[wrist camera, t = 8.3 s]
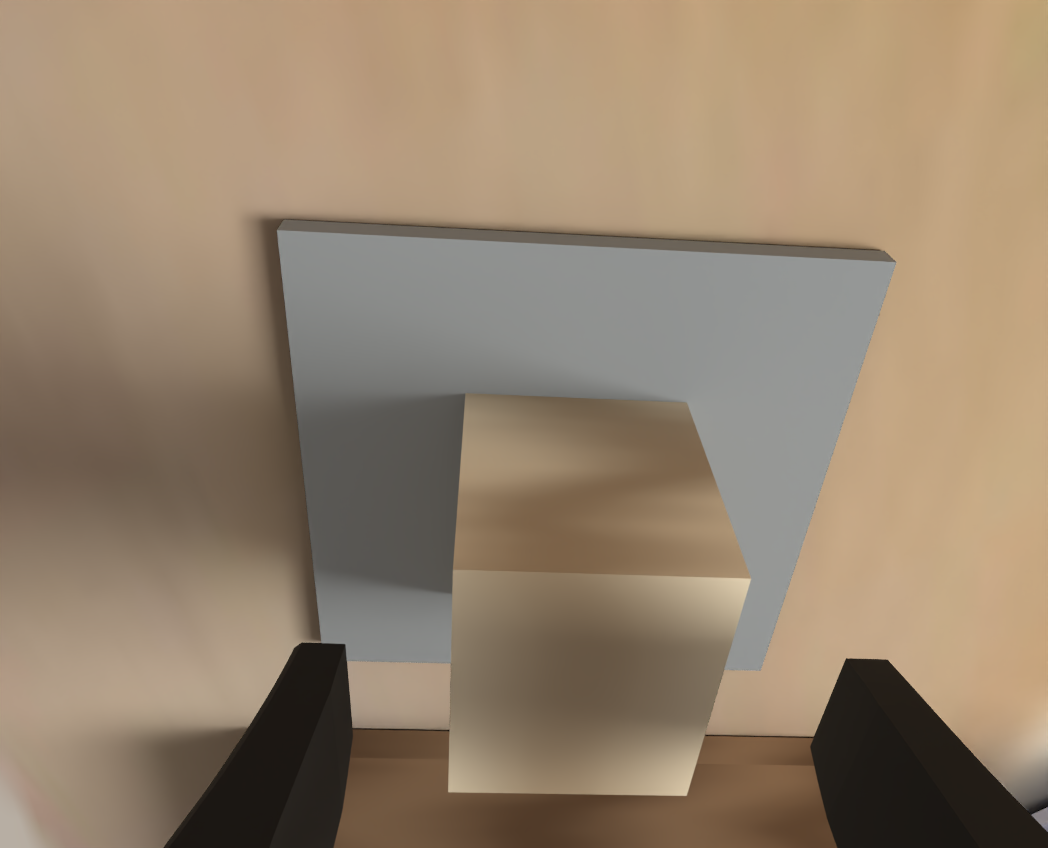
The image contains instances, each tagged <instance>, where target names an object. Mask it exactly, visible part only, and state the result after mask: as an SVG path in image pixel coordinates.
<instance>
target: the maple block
mask: <svg viewBox="0 0 1048 848" xmlns="http://www.w3.org/2000/svg"><path fill="white" fill-rule="evenodd" d="M750 581H751V577H750V574H749V571H748V568H747V566H746V563H745V560H744V558H743V555H742V552H741V549H740V547H739V544H738V541H737V538H736V536H735V533H734V530H733V527H732V525H731V522H730V519H729V516H728V514H727V511H726V508H725V505H724V503H723V500H722V497H721V495H720V492H719V489H718V486H717V484H716V481H715V478H714V475H713V473H712V470H711V467H710V464H709V462H708V459H707V456H706V453H705V451H704V448H703V445H702V442H701V440H700V437H699V434H698V432H697V429H696V426H695V423H694V421H693V418H692V415H691V412H690V410H689V407H688V404H687V403H685V402H661V401H638V400H614V399H591V398H567V397H544V396H520V395H497V394H473V393H466V394H465V408H464V422H463V436H462V450H461V463H460V477H459V491H458V505H457V519H456V533H455V547H454V561H453V588H452V635H451V682H450V729H449V776H448V792H465V793H529V794H593V795H658V796H687V793H688V790H689V786H690V783H691V780H692V776H693V773H694V770H695V766H696V763H697V759H698V756H699V753H700V749H701V746H702V743H703V739H704V736H705V733H706V729H707V726H708V722H709V719H710V716H711V712H712V709H713V706H714V702H715V699H716V696H717V692H718V689H719V685H720V682H721V679H722V675H723V672H724V669H725V665H726V662H727V659H728V655H729V652H730V648H731V645H732V642H733V638H734V635H735V632H736V628H737V625H738V622H739V618H740V615H741V611H742V608H743V605H744V601H745V598H746V595H747V591H748V588H749V585H750Z"/></svg>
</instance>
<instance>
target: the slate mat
mask: <svg viewBox="0 0 1048 848" xmlns="http://www.w3.org/2000/svg"><path fill="white" fill-rule="evenodd" d="M277 236H278V246H279V255H280V264H281V273H282V282H283V292H284V301H285V310H286V319H287V329H288V338H289V347H290V356H291V366H292V375H293V384H294V393H295V403H296V412H297V421H298V430H299V440H300V449H301V458H302V467H303V477H304V486H305V495H306V504H307V514H308V523H309V532H310V541H311V551H312V560H313V569H314V578H315V588H316V597H317V606H318V615H319V625H320V634H321V643H334V644H345V645H346V657H347V661H371V662H413V663H451V635H452V588H453V561H454V547H455V533H456V519H457V505H458V491H459V477H460V463H461V450H462V436H463V422H464V408H465V394H466V393H473V394H497V395H520V396H544V397H567V398H591V399H614V400H638V401H661V402H685V403H687V404H688V407H689V410H690V412H691V415H692V418H693V421H694V423H695V426H696V429H697V432H698V434H699V437H700V440H701V442H702V445H703V448H704V451H705V453H706V456H707V459H708V462H709V464H710V467H711V470H712V473H713V475H714V478H715V481H716V484H717V486H718V489H719V492H720V495H721V497H722V500H723V503H724V505H725V508H726V511H727V514H728V516H729V519H730V522H731V525H732V527H733V530H734V533H735V536H736V538H737V541H738V544H739V547H740V549H741V552H742V555H743V558H744V560H745V563H746V566H747V568H748V571H749V574H750V577H751V581H750V585H749V588H748V591H747V595H746V598H745V601H744V605H743V608H742V611H741V615H740V618H739V622H738V625H737V628H736V632H735V635H734V638H733V642H732V645H731V648H730V652H729V655H728V659H727V662H726V665H725V669H724V670H755V671H761V668H762V665H763V662H764V659H765V656H766V653H767V650H768V647H769V644H770V641H771V638H772V635H773V632H774V629H775V626H776V623H777V620H778V617H779V614H780V611H781V608H782V605H783V602H784V599H785V596H786V593H787V590H788V587H789V584H790V581H791V578H792V575H793V572H794V569H795V566H796V563H797V560H798V556H799V553H800V550H801V547H802V544H803V541H804V538H805V535H806V532H807V529H808V526H809V523H810V520H811V517H812V514H813V511H814V508H815V505H816V502H817V499H818V496H819V493H820V490H821V487H822V484H823V481H824V478H825V475H826V472H827V469H828V466H829V463H830V460H831V457H832V454H833V451H834V448H835V445H836V442H837V439H838V436H839V433H840V430H841V427H842V424H843V421H844V418H845V415H846V412H847V409H848V406H849V403H850V400H851V397H852V394H853V391H854V388H855V385H856V382H857V379H858V376H859V373H860V370H861V367H862V364H863V361H864V358H865V355H866V352H867V349H868V346H869V343H870V340H871V337H872V334H873V331H874V328H875V325H876V322H877V319H878V316H879V313H880V310H881V307H882V304H883V301H884V298H885V295H886V292H887V289H888V286H889V283H890V280H891V277H892V274H893V271H894V268H895V265H896V261H895V260H894V259H892V258H891V257H890V256H889V255H888V254H887V253H886V252H885V251H876V250H857V249H838V248H819V247H800V246H781V245H762V244H743V243H724V242H705V241H686V240H667V239H647V238H628V237H609V236H590V235H571V234H552V233H533V232H514V231H495V230H476V229H457V228H437V227H418V226H399V225H380V224H361V223H342V222H323V221H304V220H285V219H284V220H283V222H282V223H281V225H280V226H279V228H278V229H277Z"/></svg>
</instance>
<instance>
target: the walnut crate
mask: <svg viewBox="0 0 1048 848" xmlns="http://www.w3.org/2000/svg"><path fill="white" fill-rule="evenodd" d="M812 741H813V738H783V737H730V736H704V739H703V743H702V746H701V749H700V753H699V756H698V759H697V763H696V766H695V770H694V773H693V776H692V780H691V783H690V786H689V790H688V793H687V796H658V795H593V794H529V793H465V792H448V776H449V731H412V730H359V729H353V740H352V747H351V755H350V762H349V769H348V777H347V784H346V790H345V797H344V804H343V810H342V815H341V819H340V823H339V827H338V831H337V835H336V840H335V844H334V848H837V846H836V843H835V840H834V838H833V835H832V832H831V829H830V826H829V823H828V820H827V817H826V813H825V809H824V805H823V801H822V797H821V793H820V789H819V785H818V780H817V776H816V771H815V767H814V762H813V758H812V753H811V749H810V746H811V743H812Z"/></svg>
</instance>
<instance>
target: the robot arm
mask: <svg viewBox="0 0 1048 848" xmlns="http://www.w3.org/2000/svg"><path fill="white" fill-rule="evenodd" d="M352 740H353V729H352V717H351V705H350V693H349V681H348V669H347V657H346V645H345V644H334V643H301V644H299V645H298V646H296V647H295V648H294V650H293V652H292V654H291V656H290V657H289V659H288V661H287V663H286V665H285V667H284V669H283V671H282V672H281V674H280V676H279V678H278V679H277V681H276V683H275V685H274V686H273V688H272V690H271V692H270V693H269V695H268V697H267V698H266V700H265V702H264V703H263V705H262V707H261V708H260V710H259V711H258V713H257V715H256V716H255V718H254V719H253V721H252V723H251V724H250V726H249V727H248V729H247V731H246V732H245V734H244V735H243V737H242V738H241V740H240V741H239V743H238V744H237V746H236V747H235V749H234V750H233V752H232V753H231V755H230V756H229V758H228V759H227V761H226V762H225V764H224V765H223V767H222V768H221V770H220V771H219V772H218V774H217V775H216V777H215V778H214V780H213V781H212V783H211V784H210V786H209V787H208V788H207V790H206V791H205V793H204V794H203V795H202V797H201V798H200V799H199V801H198V802H197V803H196V805H195V806H194V807H193V809H192V810H191V812H190V813H189V814H188V816H187V817H186V818H185V820H184V821H183V822H182V824H181V825H180V826H179V828H178V829H177V830H176V832H175V833H174V834H173V836H172V837H171V838H170V840H169V841H168V842H167V844H166V845H165V846H164V848H334V844H335V840H336V835H337V831H338V827H339V823H340V819H341V815H342V810H343V804H344V797H345V790H346V784H347V777H348V769H349V762H350V755H351V747H352ZM810 749H811V753H812V758H813V762H814V767H815V771H816V776H817V780H818V785H819V789H820V793H821V797H822V801H823V805H824V809H825V813H826V817H827V820H828V823H829V826H830V829H831V832H832V835H833V838H834V840H835V843H836V846H837V848H1048V807H1047V808H1044V809H1042V810H1040V811H1038V812H1036V813H1034V814H1030V813H1029V812H1028V811H1027V810H1026V809H1025V808H1024V807H1023V806H1022V805H1021V804H1020V803H1019V802H1018V801H1017V800H1016V799H1015V798H1014V797H1013V796H1012V795H1011V794H1010V793H1009V792H1008V791H1007V790H1006V789H1005V788H1004V787H1003V785H1002V784H1001V783H1000V782H999V781H998V780H997V779H996V778H995V777H994V776H993V775H992V774H991V773H990V772H989V771H988V770H987V769H986V767H985V766H984V765H983V764H982V763H981V762H980V761H979V760H978V759H977V758H976V757H975V756H974V755H973V753H972V752H971V751H970V750H969V749H968V748H967V747H966V746H965V745H964V744H963V743H962V741H961V740H960V739H959V738H958V737H957V736H956V735H955V734H954V733H953V732H952V730H951V729H950V728H949V727H948V726H947V725H946V724H945V723H944V722H943V721H942V719H941V718H940V717H939V716H938V715H937V714H936V713H935V712H934V711H933V709H932V708H931V707H930V706H929V705H928V704H927V703H926V702H925V701H924V699H923V698H922V697H921V696H920V695H919V694H918V693H917V692H916V691H915V689H914V688H913V687H912V686H911V685H910V684H909V683H908V682H907V681H906V680H905V678H904V677H903V676H902V675H901V674H900V673H899V672H898V671H897V670H896V669H895V668H894V666H893V665H892V664H891V663H890V662H889V661H888V660H881V659H846V660H845V662H844V665H843V667H842V670H841V672H840V675H839V677H838V680H837V682H836V684H835V687H834V689H833V692H832V694H831V697H830V699H829V702H828V704H827V706H826V709H825V711H824V714H823V716H822V719H821V721H820V724H819V726H818V728H817V731H816V733H815V736H814V738H813V741H812V743H811V746H810Z"/></svg>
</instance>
